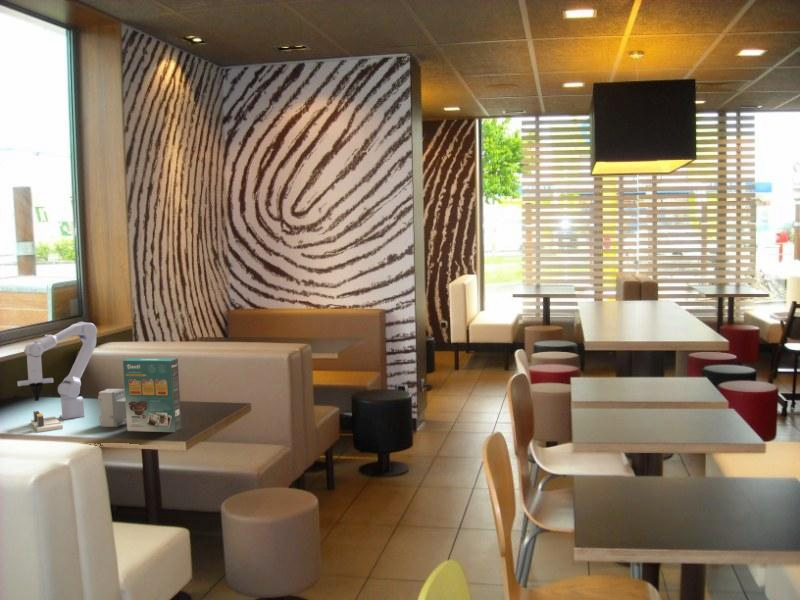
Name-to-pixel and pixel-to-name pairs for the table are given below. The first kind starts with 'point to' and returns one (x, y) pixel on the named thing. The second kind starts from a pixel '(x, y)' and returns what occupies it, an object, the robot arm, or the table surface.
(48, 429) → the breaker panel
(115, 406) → the circuit breaker
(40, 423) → the breaker handle
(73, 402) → the robot arm
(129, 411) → the cake mix box
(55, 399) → the table surface
